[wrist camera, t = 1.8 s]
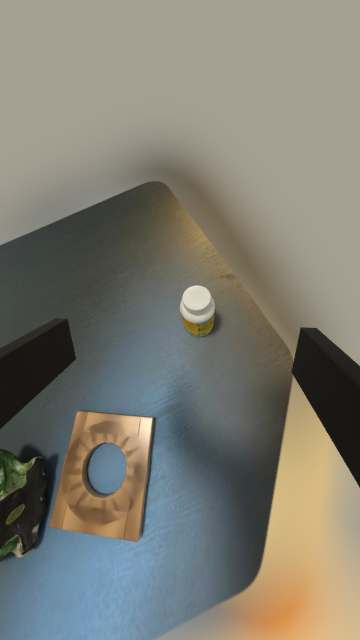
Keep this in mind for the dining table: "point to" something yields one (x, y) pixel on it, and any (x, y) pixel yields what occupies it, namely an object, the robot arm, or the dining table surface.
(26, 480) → the figurine
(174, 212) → the dining table surface
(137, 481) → the socket pad
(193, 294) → the supplement bottle
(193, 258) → the dining table surface
